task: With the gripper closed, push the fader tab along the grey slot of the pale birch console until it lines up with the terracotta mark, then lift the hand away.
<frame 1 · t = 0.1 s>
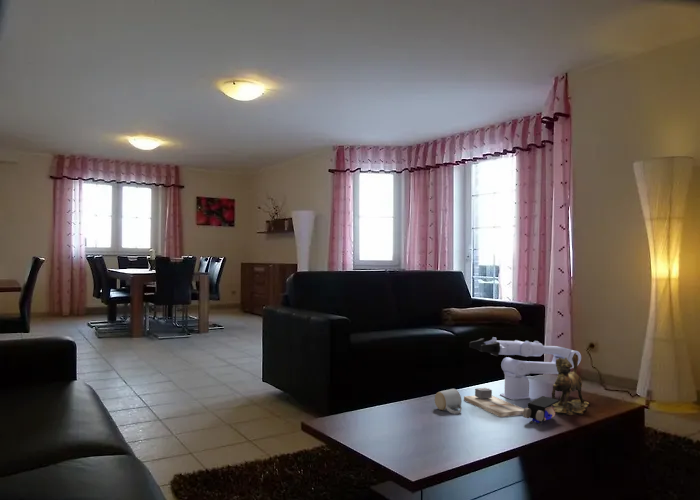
hand: (475, 346, 206), 22 cm above the table, tool horizontal, fingers open, 7 cm apart
figurine character: (541, 422, 180), on the table
figurine: (571, 408, 199), on the table
ceramic mug: (450, 411, 191), on the table
fader console: (494, 406, 197), on the table
fader tab: (483, 392, 204), point 4 cm above the table, slide at 0.0 cm
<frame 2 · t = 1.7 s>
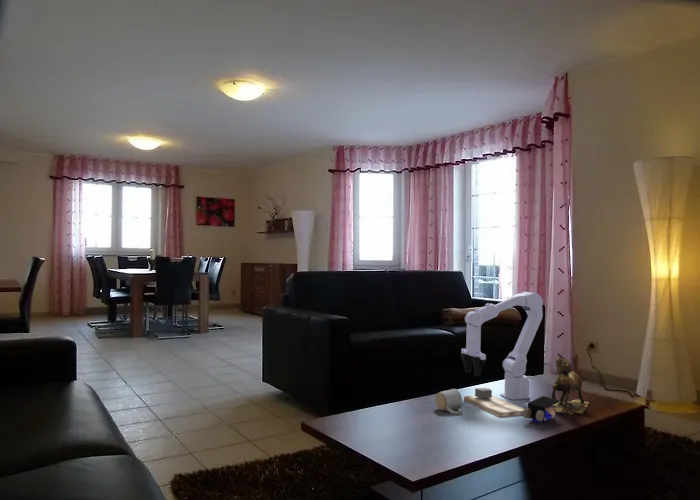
hand: (472, 374, 211), 9 cm above the table, tool pointing down, fingers open, 6 cm apart
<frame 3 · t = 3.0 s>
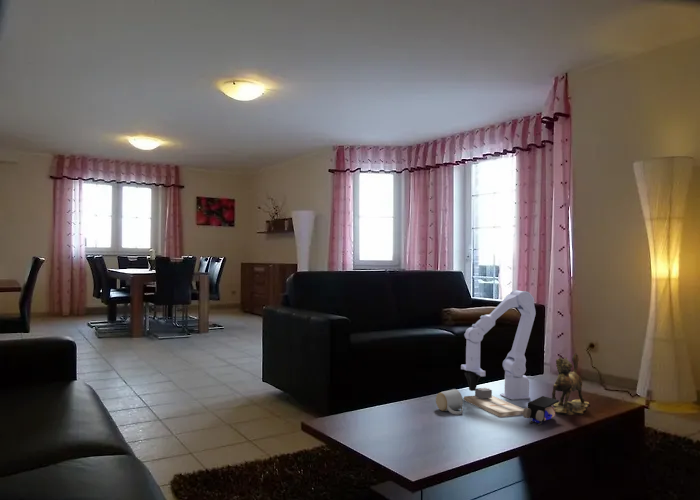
hand: (472, 390, 211), 3 cm above the table, tool pointing down, fingers closed
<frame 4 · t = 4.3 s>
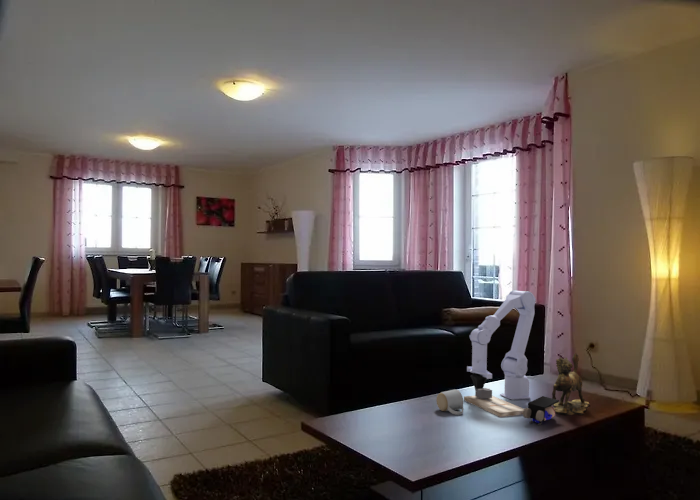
hand: (478, 393, 207), 3 cm above the table, tool pointing down, fingers closed
fader tab: (483, 393, 204), point 4 cm above the table, slide at 0.2 cm, touching gripper
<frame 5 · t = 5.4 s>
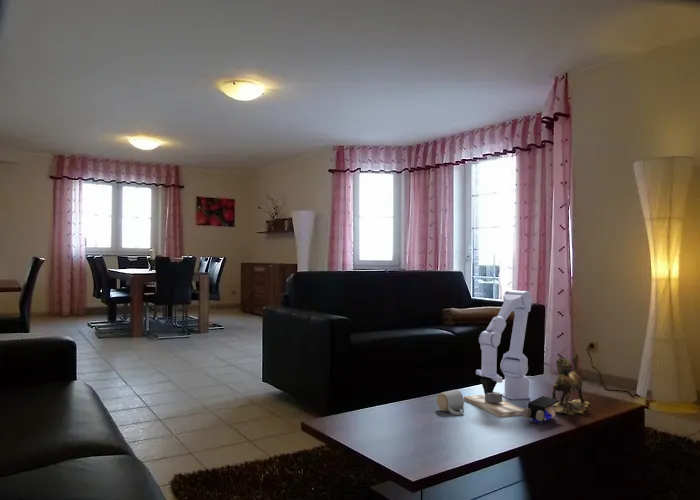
hand: (488, 397, 201), 3 cm above the table, tool pointing down, fingers closed
fader tab: (493, 397, 198), point 4 cm above the table, slide at 6.6 cm, touching gripper
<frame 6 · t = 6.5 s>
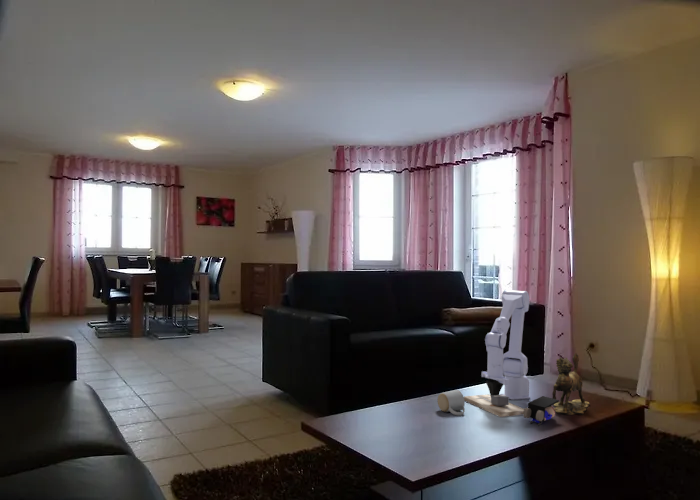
hand: (494, 399, 197), 3 cm above the table, tool pointing down, fingers closed
fader tab: (499, 399, 194), point 4 cm above the table, slide at 10.4 cm, touching gripper
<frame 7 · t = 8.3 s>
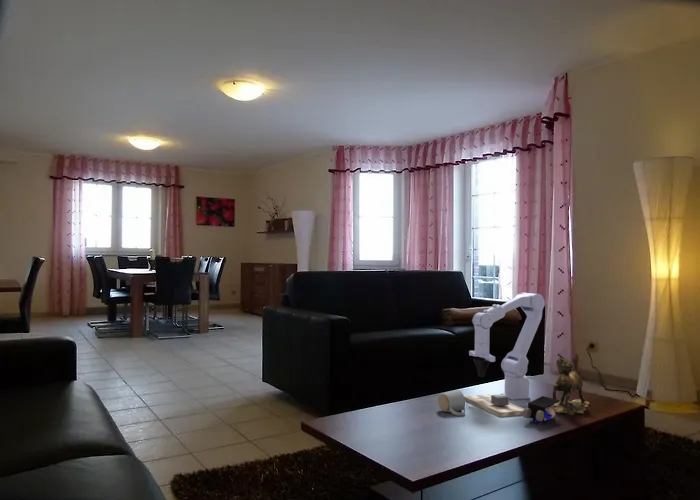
hand: (481, 376, 207), 9 cm above the table, tool pointing down, fingers closed
fader tab: (499, 399, 194), point 4 cm above the table, slide at 10.4 cm
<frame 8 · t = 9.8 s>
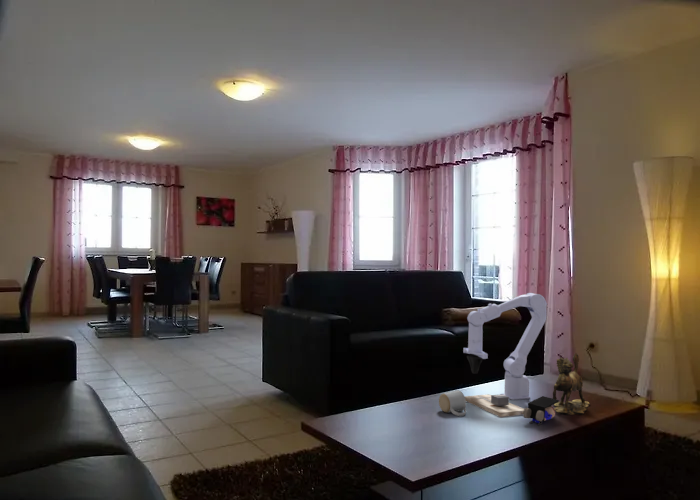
hand: (474, 373, 213), 9 cm above the table, tool pointing down, fingers closed
at the end: fader tab slide at 10.4 cm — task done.
